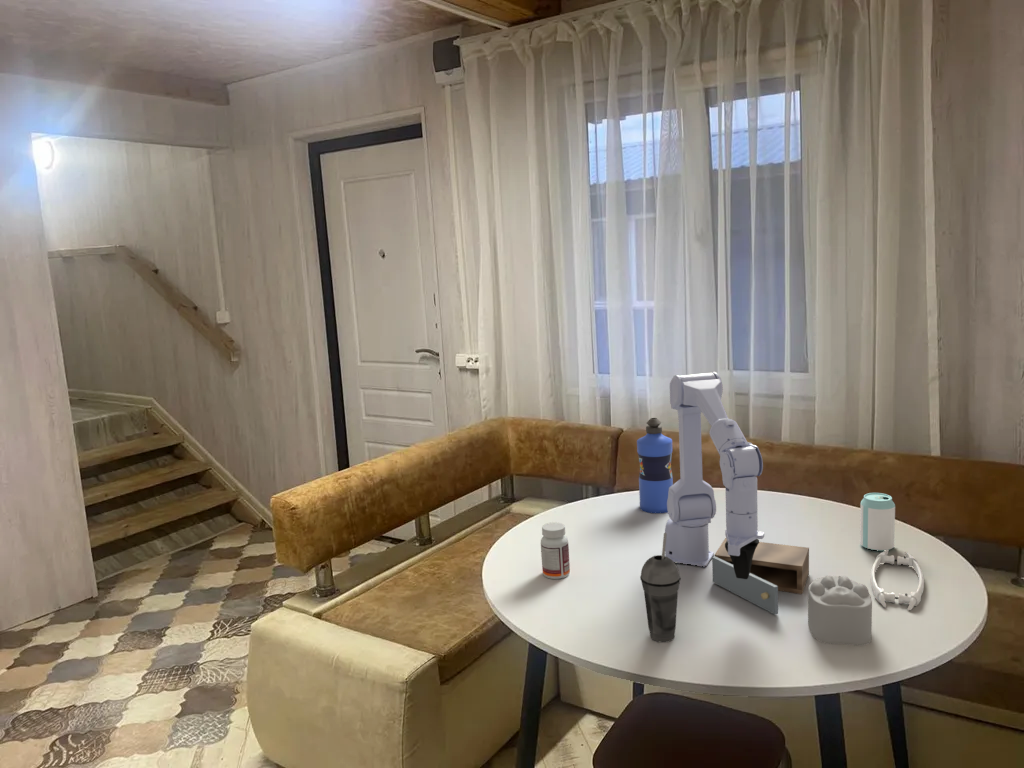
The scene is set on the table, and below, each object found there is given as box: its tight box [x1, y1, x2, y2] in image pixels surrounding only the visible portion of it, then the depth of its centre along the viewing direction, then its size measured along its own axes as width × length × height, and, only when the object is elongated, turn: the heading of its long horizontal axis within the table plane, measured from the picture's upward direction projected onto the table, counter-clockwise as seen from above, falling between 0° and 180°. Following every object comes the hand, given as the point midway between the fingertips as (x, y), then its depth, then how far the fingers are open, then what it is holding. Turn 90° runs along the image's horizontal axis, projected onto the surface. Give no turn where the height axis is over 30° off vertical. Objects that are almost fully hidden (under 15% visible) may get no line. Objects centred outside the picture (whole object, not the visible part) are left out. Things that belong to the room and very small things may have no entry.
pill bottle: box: [540, 521, 571, 580], centre depth 172 cm, size 6×6×11 cm
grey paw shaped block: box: [807, 575, 873, 646], centre depth 142 cm, size 10×13×9 cm
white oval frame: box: [869, 550, 925, 611], centre depth 158 cm, size 3×10×25 cm
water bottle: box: [636, 417, 674, 514], centre depth 209 cm, size 9×9×25 cm
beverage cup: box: [639, 532, 682, 643], centre depth 142 cm, size 7×7×20 cm
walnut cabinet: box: [714, 537, 810, 595], centre depth 164 cm, size 18×10×6 cm, turn 62°
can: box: [859, 492, 896, 552], centre depth 175 cm, size 7×7×12 cm
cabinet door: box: [711, 555, 779, 615], centre depth 155 cm, size 18×2×6 cm, turn 27°
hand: (742, 577), depth 148 cm, fingers closed
